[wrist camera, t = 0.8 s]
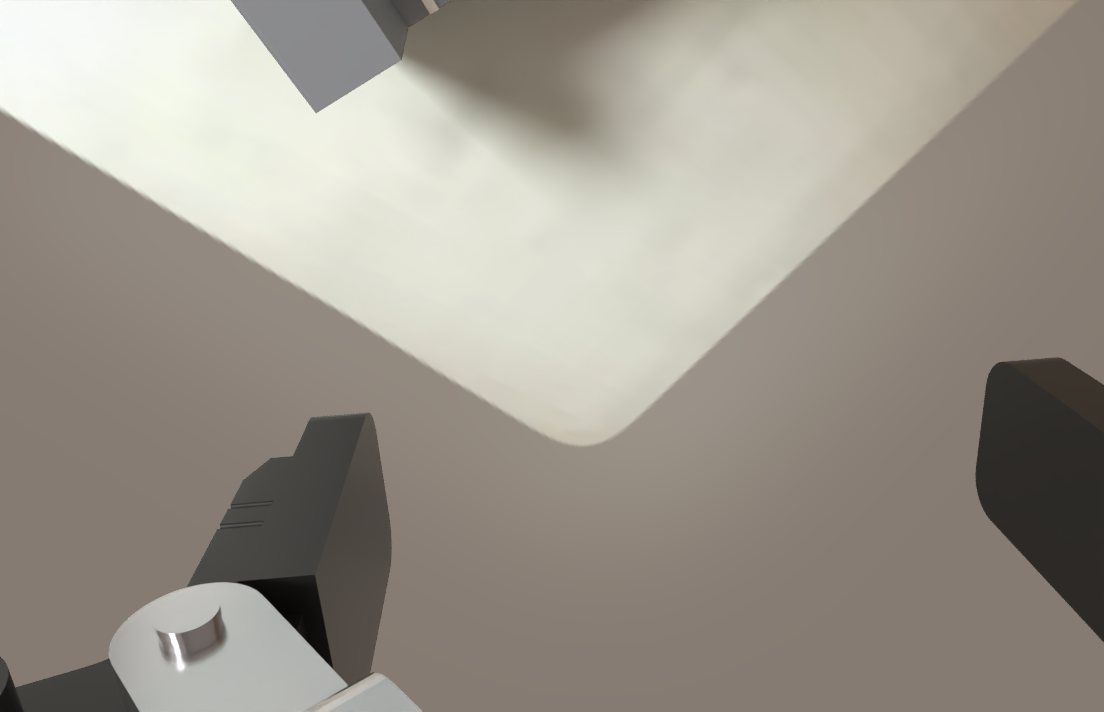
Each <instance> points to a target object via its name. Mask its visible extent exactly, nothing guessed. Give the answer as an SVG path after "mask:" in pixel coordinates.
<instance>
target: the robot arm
mask: <svg viewBox="0 0 1104 712" xmlns="http://www.w3.org/2000/svg"><path fill="white" fill-rule="evenodd" d="M976 487H977V492H978V496H979V500H980V502H981V505H982V507H983V510H984V512H985V513H986V515H987V516H988V518H989V519H990V520H991V521H992V522H993V523H994V524H995V525H996V526H997V528H998V529H999V530H1000V531H1001V532H1002V533H1003V534H1004V535H1005V536H1006V537H1007V538H1008V539H1009V541H1010V542H1011V543H1012V544H1013V545H1014V546H1015V547H1016V548H1017V549H1018V550H1019V551H1020V552H1021V553H1022V555H1023V556H1024V557H1025V558H1026V559H1027V560H1028V561H1029V562H1030V563H1031V564H1032V565H1033V566H1034V567H1035V569H1036V570H1037V571H1038V572H1039V573H1040V574H1041V575H1042V576H1043V577H1044V578H1045V579H1046V580H1047V582H1048V583H1049V584H1050V585H1051V586H1052V587H1053V588H1054V589H1055V590H1056V591H1057V592H1058V593H1059V594H1060V595H1061V597H1062V598H1063V599H1064V600H1065V601H1066V602H1067V603H1068V604H1069V605H1070V606H1071V607H1072V608H1073V610H1074V611H1075V612H1076V613H1077V614H1078V615H1079V616H1080V617H1081V618H1082V619H1083V620H1084V621H1085V622H1086V623H1087V625H1088V626H1089V627H1090V628H1091V629H1092V630H1093V631H1094V632H1095V633H1096V634H1097V635H1098V636H1099V638H1100V639H1101V640H1102V641H1103V642H1104V385H1103V384H1101V383H1100V382H1098V381H1097V380H1095V379H1094V378H1092V377H1091V376H1089V375H1088V374H1086V373H1085V372H1083V371H1081V370H1080V369H1078V368H1077V367H1075V366H1074V365H1072V364H1071V363H1069V362H1068V361H1066V360H1064V359H1062V358H1045V359H1034V360H1020V361H1009V362H999V363H997V364H996V365H995V366H994V367H993V368H992V369H991V371H990V373H989V375H988V379H987V384H986V391H985V400H984V407H983V415H982V423H981V431H980V440H979V448H978V456H977V465H976ZM220 527H221V528H220V529H218V530H217V531H216V533H215V535H214V537H213V539H212V541H211V542H210V544H209V546H208V548H207V550H206V552H205V554H204V556H203V558H202V559H201V561H200V564H199V565H198V567H197V569H196V571H195V573H194V575H193V577H192V578H191V580H190V582H189V584H188V586H187V588H184V589H181V590H178V591H175V592H172V593H170V594H167V595H165V596H163V597H161V598H159V599H156V600H154V601H153V602H151V603H149V604H148V605H146V606H144V607H143V608H141V609H140V610H139V611H137V612H136V613H134V614H133V615H132V616H131V617H130V618H129V619H127V620H126V621H125V623H123V624H122V626H121V627H120V628H119V629H118V631H117V632H116V634H115V635H114V637H113V639H112V641H111V644H110V647H109V659H107V660H104V661H102V662H99V663H97V664H94V665H90V666H88V667H85V668H81V669H78V670H74V671H71V672H67V673H64V674H61V675H57V676H54V677H50V678H47V679H43V680H40V681H36V682H33V683H30V684H26V685H23V686H19V687H16V688H15V686H14V683H13V680H12V678H11V675H10V672H9V670H8V667H7V665H6V663H5V661H4V660H3V659H2V658H1V657H0V712H422V711H421V710H420V709H419V708H418V707H417V706H416V705H415V704H414V703H413V702H412V701H411V700H410V699H409V698H408V697H407V696H406V695H405V694H404V693H403V692H402V691H401V690H400V689H399V688H398V687H397V686H396V685H395V684H394V683H393V682H391V681H390V680H389V679H388V678H387V677H385V676H384V675H382V674H379V673H376V672H374V673H370V671H371V665H372V660H373V655H374V650H375V645H376V640H377V635H378V629H379V624H380V619H381V614H382V608H383V603H384V598H385V593H386V588H387V583H388V577H389V572H390V566H391V528H390V518H389V512H388V505H387V499H386V492H385V486H384V479H383V473H382V466H381V461H380V454H379V447H378V440H377V434H376V429H375V425H374V421H373V418H372V415H371V414H370V413H359V414H347V415H334V416H322V417H312V418H311V419H310V420H309V422H308V424H307V427H306V429H305V431H304V433H303V435H302V438H301V440H300V442H299V445H298V446H297V449H296V451H295V453H294V455H293V456H292V457H280V458H271V459H269V460H268V461H267V462H266V463H264V464H263V465H262V466H261V467H259V468H258V469H257V470H256V471H254V472H253V473H252V474H251V475H249V476H248V477H247V478H246V479H244V480H243V482H242V484H241V486H240V488H239V490H238V491H237V494H236V495H235V497H234V499H233V501H232V503H231V509H228V510H227V512H226V514H225V516H224V518H223V520H222V522H221V524H220Z"/></svg>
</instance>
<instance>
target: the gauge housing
mask: <svg viewBox="0 0 1104 712" xmlns="http://www.w3.org/2000/svg"><path fill="white" fill-rule="evenodd" d="M231 1H232V3H233V4H234V5H235V7H236V8H237V9H238V11H239V12H240V13H241V15H242V16H243V17H244V19H245V20H246V21H247V23H248V24H249V25H250V26H251V28H252V29H253V30H254V32H255V33H256V34H257V36H258V37H259V38H260V40H261V41H262V42H263V44H264V45H265V46H266V48H267V49H268V50H269V52H270V53H271V54H272V56H273V57H274V58H275V60H276V61H277V62H278V64H279V65H280V66H281V68H282V69H283V70H284V72H285V73H286V74H287V76H288V77H289V78H290V79H291V81H292V82H293V83H294V85H295V86H296V87H297V89H298V90H299V91H300V93H301V94H302V95H303V97H304V98H305V99H306V101H307V102H308V103H309V105H310V106H311V107H312V109H313V110H314V111H315V113H317V112H319V111H320V110H322V109H324V108H325V107H327V106H328V105H330V104H332V103H333V102H335V101H336V100H338V99H340V98H341V97H343V96H344V95H346V94H348V93H349V92H351V91H352V90H354V89H356V88H357V87H359V86H360V85H362V84H364V83H365V82H367V81H368V80H370V79H372V78H373V77H375V76H376V75H378V74H380V73H381V72H383V71H384V70H386V69H388V68H389V67H391V66H392V65H394V64H396V63H397V62H399V61H400V60H401V59H402V55H403V50H404V45H405V41H406V36H407V31H408V27H410V26H411V25H413V24H415V23H416V22H418V21H419V20H421V19H423V18H424V17H426V16H427V15H429V14H430V15H431V14H433V13H434V12H436V11H438V10H439V8H440V7H441V6H443V5H445V4H446V3H448V2H449V1H451V0H231Z"/></svg>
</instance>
